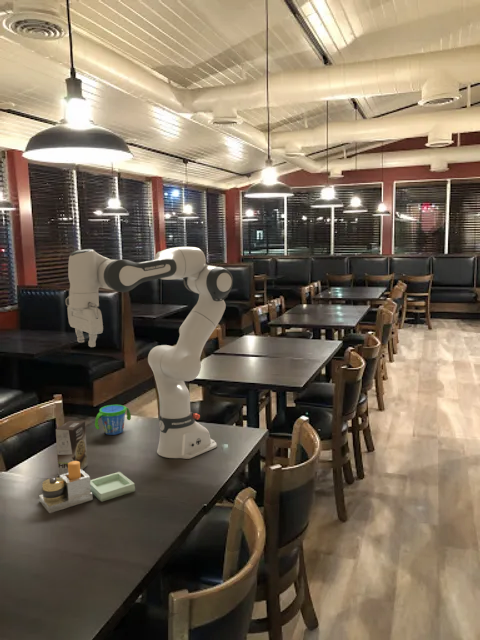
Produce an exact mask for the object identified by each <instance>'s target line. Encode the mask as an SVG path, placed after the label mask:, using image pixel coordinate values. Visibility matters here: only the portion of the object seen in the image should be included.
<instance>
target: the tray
mask: <svg viewBox="0 0 480 640" xmlns="http://www.w3.org/2000/svg"><path fill="white" fill-rule="evenodd" d="M90 485H91V493H92V495H94V496H95V497H96V498H97V499H98V500H99V501H100V502H105V501H109V500H112V499H115V498H118V497H121V496H123V495H124V496H125V495H127V494H131V493H133V492H135V491H136V486H135V485H136V483H135V482H133V481H132V480H131V479H130V478H128V477H127V476H126V475H124V474H123V472H121V471H117V472H115V473H110V474H108V475H107V474H106V475H103V476H99V477H97V478H93V479H90Z"/></svg>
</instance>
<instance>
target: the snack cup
mask: <svg viewBox="0 0 480 640" xmlns="http://www.w3.org/2000/svg"><path fill="white" fill-rule="evenodd" d="M131 415H132V414H131V411H130V408H128V407H126V406H125V405H122V404H108V405H104V406H102V407H100V408H99V412H98V413H97V414H96V417H95V419H94V427H95V428H96V430H100V426H99V425H100V424H99V419H100V418H101V422H102V427H103V431H104V433H105V434H106V435H109V436H116V435H119V434H122V433H123V432H124V429H125V417H126V420H127V421H130V420H131V419H132V416H131Z"/></svg>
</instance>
